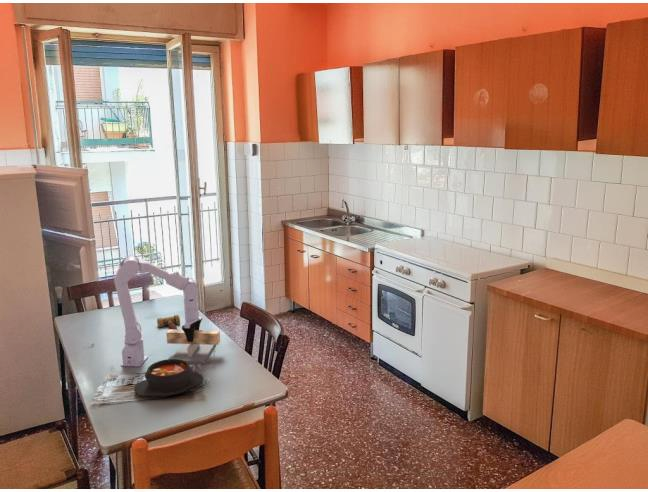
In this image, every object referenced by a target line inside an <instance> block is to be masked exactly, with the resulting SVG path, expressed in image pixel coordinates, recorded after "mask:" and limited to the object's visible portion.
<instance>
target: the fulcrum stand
mask: <svg viewBox="0 0 648 492" xmlns="http://www.w3.org/2000/svg"><path fill="white" fill-rule="evenodd" d="M215 347H216V345H207V344H181V345H180V347H179V348H178V350H177V351H176V352H175V353H174V355H172V357H171V358H170V359H180V360H184V361H186V362H187V363H188V364H189V365H191V364H193V365H196V364H195V363H199V364H198V365H204V364H205V362H206V361H207V359H209V356H210V354H211V353H212V351H213V350H214V348H215Z"/></svg>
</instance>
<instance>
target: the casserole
mask: <svg viewBox="0 0 648 492" xmlns="http://www.w3.org/2000/svg"><path fill="white" fill-rule="evenodd" d="M144 378H145V379H144V380H141V381H138V382H137V383H136V384H135V385H134V388H133V389H134V393H136V394H137V395H139V396H141V397H152V396H158V397H159V396H160V397H162V396H163V397H164V396H165V397H166V396H171V395H177V394H180V393H183V392H186V391H188V390H189V389H191V388H194V387H197V386H199V385H201V384H202V383H203V382H204V377H203V375H202V374H201V373H199V372H197V371H193V368H192V366H190V364H189V363H187V362H186V361H184V360H180V359H171V358H169V359H163V360H162V359H161V360H158V361H156V362H153V363H152V364H151V365H149V366H148V367H147V370H146V372H145V373H144Z"/></svg>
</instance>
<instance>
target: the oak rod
mask: <svg viewBox="0 0 648 492" xmlns="http://www.w3.org/2000/svg"><path fill="white" fill-rule="evenodd" d="M220 334H221V332H220V330H210V329H209V330H208V329H204V330H203V329H199V330H195V331H194V339H193V342H188V341H187V338H186V335H185V333H184V331H183V330H182V329H178V330H174V329H168V330H166V345H167V344H171V345H172V344H173V345H182V344H207V345H215V346H216V345H217V346H218V345H219V344H220V342H221V335H220Z"/></svg>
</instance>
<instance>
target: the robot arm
mask: <svg viewBox="0 0 648 492" xmlns="http://www.w3.org/2000/svg"><path fill="white" fill-rule="evenodd" d="M145 273H148V274H150V275H153V276H155V277H158V278H159V279H163V280H164V281H165V284H167V286H171V287H173V288H174V289H177V290H179V291H183V305H184V309H183V310H184V324H183V325H182V326H181V330H183V331H184V333H185V335H186V338H187V341H188V342H193V339H194V331H195V330H200V327H201V322H202V321H203V317H202V316H200V311H199V297H198V293H199V286H198V285H197V282H196V280H194V279H193V278H191V277H188V276H187V277H186V276H184V275H182V274H180V272H179V271H170V272H169V271H167V270H164V269H163V268H161V267H159V266H157V265H155V264H154V263H152V262H149V261H147V260H145V259H143V258H141V257H137V256H136V255H132V254H130V255H128V256H125V258H124V259H122V261H120V264H119V266H118V269H117V271H116V273H115V276H114V278H113V279H114V280H113V282H114V286H115V289H116V295H117V298H118V302H119V306H120V311H121V314H122V318H123V322H124V331H125V335H124V338H125V339H124V347H123V348H122V351H121V355H122V357H121V358H122V363H121V364H120V366H121V367H141V366H142V364H144V362H146V360H147V359H148V358H149V356H148V355H145V349H144V338H143V336H142V327H141V324H140V323H139V321H138V320H137V316H136V314H135V309H134V305H133V301H132V296H131V293H130V289H129V285H128V284H129V283H128V282H129V281H130V279H131V278H133V277H134V276H136V275H137V274H140V275H141V274H145Z"/></svg>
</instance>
